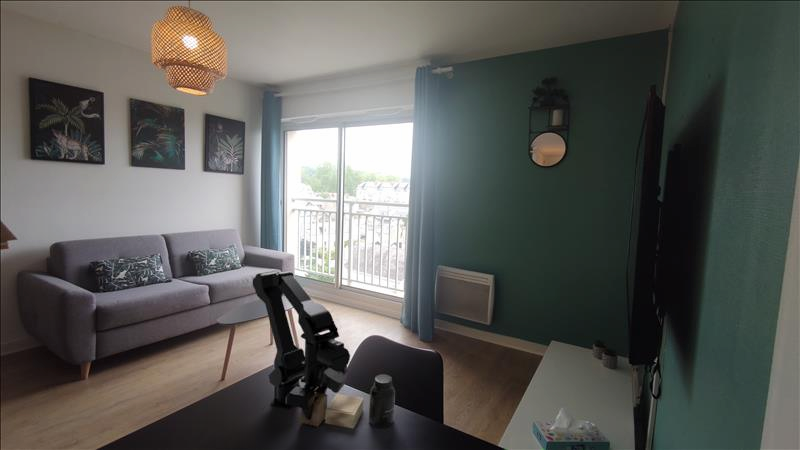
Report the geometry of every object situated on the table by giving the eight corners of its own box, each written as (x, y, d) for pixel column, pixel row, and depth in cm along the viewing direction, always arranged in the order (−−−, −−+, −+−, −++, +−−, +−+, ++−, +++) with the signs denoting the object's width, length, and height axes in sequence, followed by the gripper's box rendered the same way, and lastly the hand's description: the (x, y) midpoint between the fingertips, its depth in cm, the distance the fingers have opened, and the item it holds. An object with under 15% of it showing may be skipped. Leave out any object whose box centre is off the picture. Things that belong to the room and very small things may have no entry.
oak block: (325, 424, 96) (325, 409, 96) (336, 407, 104) (336, 393, 104) (353, 429, 95) (354, 414, 94) (362, 411, 102) (363, 397, 102)
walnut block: (300, 422, 95) (301, 400, 94) (310, 411, 100) (311, 390, 99) (317, 426, 94) (318, 404, 93) (326, 415, 98) (327, 394, 98)
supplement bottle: (390, 430, 94) (392, 386, 93) (365, 425, 96) (367, 382, 95) (396, 414, 101) (398, 374, 100) (372, 410, 103) (374, 370, 101)
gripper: (326, 380, 84) (324, 443, 85) (357, 348, 102) (355, 400, 103) (285, 371, 87) (283, 432, 88) (322, 342, 105) (320, 393, 106)
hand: (314, 413), depth 97 cm, fingers closed on walnut block, 5 cm apart
